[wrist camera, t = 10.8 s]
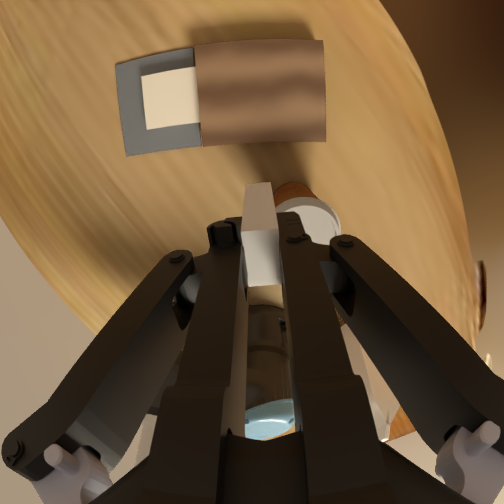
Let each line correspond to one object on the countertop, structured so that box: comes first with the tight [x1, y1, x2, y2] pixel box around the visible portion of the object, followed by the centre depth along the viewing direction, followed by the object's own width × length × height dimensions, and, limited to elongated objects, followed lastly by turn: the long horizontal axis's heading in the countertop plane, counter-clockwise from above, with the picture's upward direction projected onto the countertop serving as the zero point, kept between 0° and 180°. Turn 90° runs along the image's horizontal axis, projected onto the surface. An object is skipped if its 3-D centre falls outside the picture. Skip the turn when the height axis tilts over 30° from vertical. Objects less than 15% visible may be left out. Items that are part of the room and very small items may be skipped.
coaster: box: [141, 67, 200, 130], centre depth 33 cm, size 8×8×2 cm
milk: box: [341, 323, 400, 442], centre depth 49 cm, size 12×12×26 cm
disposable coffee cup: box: [273, 182, 341, 245], centre depth 38 cm, size 10×10×12 cm
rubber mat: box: [115, 48, 202, 156], centre depth 35 cm, size 15×12×1 cm
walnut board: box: [194, 39, 326, 147], centre depth 32 cm, size 14×16×4 cm
